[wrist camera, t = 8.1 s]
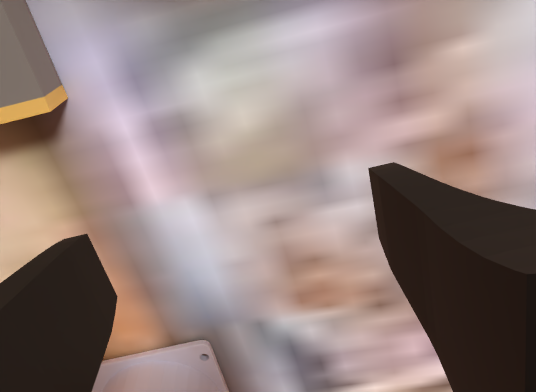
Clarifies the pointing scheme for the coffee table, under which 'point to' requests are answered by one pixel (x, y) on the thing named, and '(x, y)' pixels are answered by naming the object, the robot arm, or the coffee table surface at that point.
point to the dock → (25, 66)
